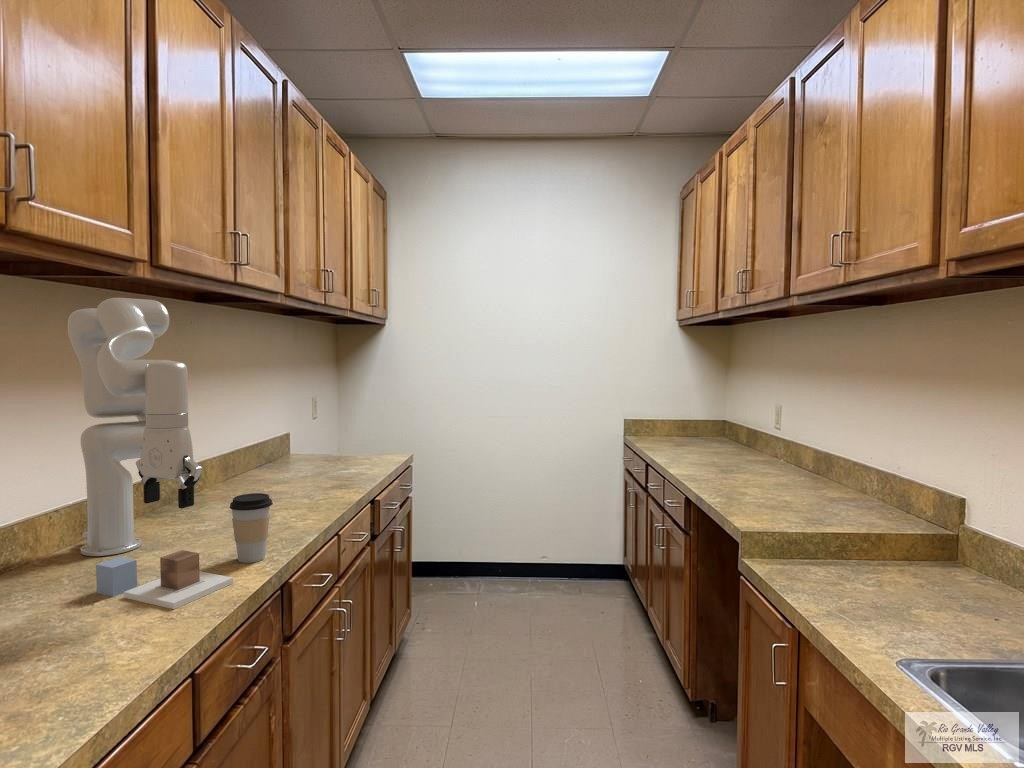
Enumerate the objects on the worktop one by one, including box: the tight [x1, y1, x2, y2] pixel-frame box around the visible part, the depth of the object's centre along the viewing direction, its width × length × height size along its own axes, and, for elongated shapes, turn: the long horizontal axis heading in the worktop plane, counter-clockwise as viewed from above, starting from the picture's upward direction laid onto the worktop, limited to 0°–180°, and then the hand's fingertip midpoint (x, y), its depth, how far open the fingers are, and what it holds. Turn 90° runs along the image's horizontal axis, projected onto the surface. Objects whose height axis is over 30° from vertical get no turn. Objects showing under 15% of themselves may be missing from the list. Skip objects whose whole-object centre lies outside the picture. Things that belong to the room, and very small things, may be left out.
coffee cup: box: [229, 492, 273, 564], centre depth 140 cm, size 9×9×15 cm
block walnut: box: [159, 549, 201, 590], centre depth 121 cm, size 5×5×6 cm
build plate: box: [123, 570, 234, 610], centre depth 121 cm, size 14×14×1 cm
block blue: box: [95, 556, 138, 598], centre depth 121 cm, size 5×5×6 cm
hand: (168, 504), depth 120 cm, fingers open, 9 cm apart
